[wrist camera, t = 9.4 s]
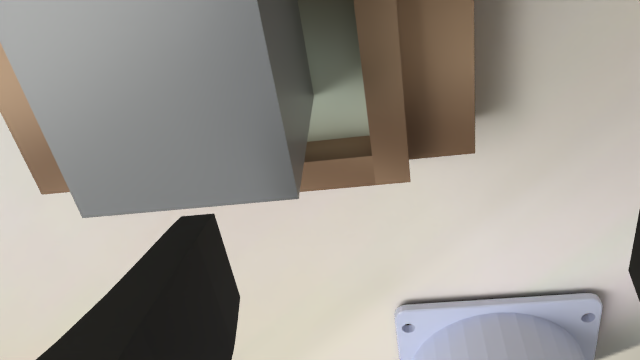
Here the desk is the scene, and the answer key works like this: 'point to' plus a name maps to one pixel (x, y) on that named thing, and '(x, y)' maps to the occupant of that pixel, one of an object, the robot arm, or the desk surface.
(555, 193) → the desk surface
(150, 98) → the housing
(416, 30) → the stand
